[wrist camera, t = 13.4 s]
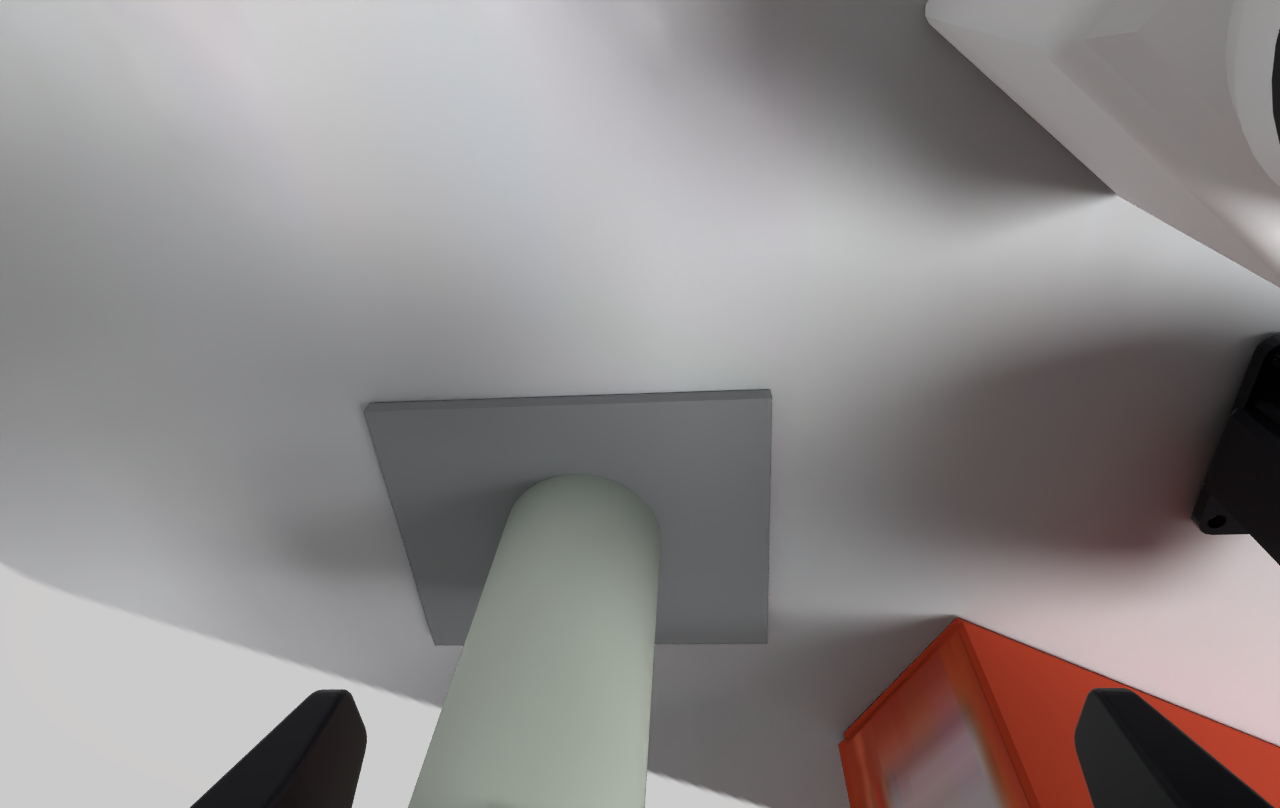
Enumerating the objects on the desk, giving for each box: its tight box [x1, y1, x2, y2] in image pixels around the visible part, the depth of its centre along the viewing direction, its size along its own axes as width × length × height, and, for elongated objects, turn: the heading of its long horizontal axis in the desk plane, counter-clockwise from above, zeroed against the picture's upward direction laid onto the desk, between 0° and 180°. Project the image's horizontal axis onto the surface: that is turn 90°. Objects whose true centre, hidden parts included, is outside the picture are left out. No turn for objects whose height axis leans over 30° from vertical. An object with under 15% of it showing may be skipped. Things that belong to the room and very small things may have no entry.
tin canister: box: [408, 474, 661, 808], centre depth 19 cm, size 5×5×12 cm
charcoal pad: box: [364, 390, 772, 645], centre depth 25 cm, size 12×10×1 cm
